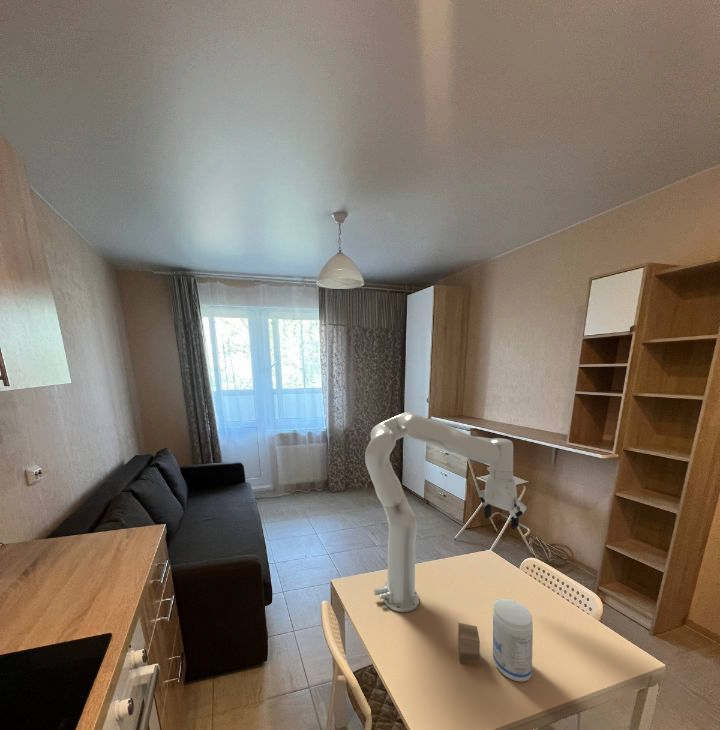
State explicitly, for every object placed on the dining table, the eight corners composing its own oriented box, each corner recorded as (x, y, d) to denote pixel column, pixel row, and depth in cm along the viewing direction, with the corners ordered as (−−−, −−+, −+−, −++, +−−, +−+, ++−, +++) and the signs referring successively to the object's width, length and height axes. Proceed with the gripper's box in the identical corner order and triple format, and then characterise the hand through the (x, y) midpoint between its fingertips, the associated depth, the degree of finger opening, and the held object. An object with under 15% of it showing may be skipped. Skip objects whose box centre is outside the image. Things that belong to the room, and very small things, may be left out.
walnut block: (479, 668, 82) (479, 641, 82) (459, 663, 83) (460, 637, 83) (476, 651, 86) (476, 626, 87) (458, 648, 88) (458, 622, 88)
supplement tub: (486, 651, 86) (486, 598, 87) (517, 649, 87) (517, 596, 88) (505, 686, 77) (506, 625, 77) (541, 683, 78) (540, 623, 78)
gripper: (473, 469, 114) (472, 515, 113) (521, 482, 100) (520, 536, 100) (484, 466, 119) (483, 511, 118) (531, 478, 105) (531, 529, 104)
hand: (500, 522), depth 109 cm, fingers open, 9 cm apart
